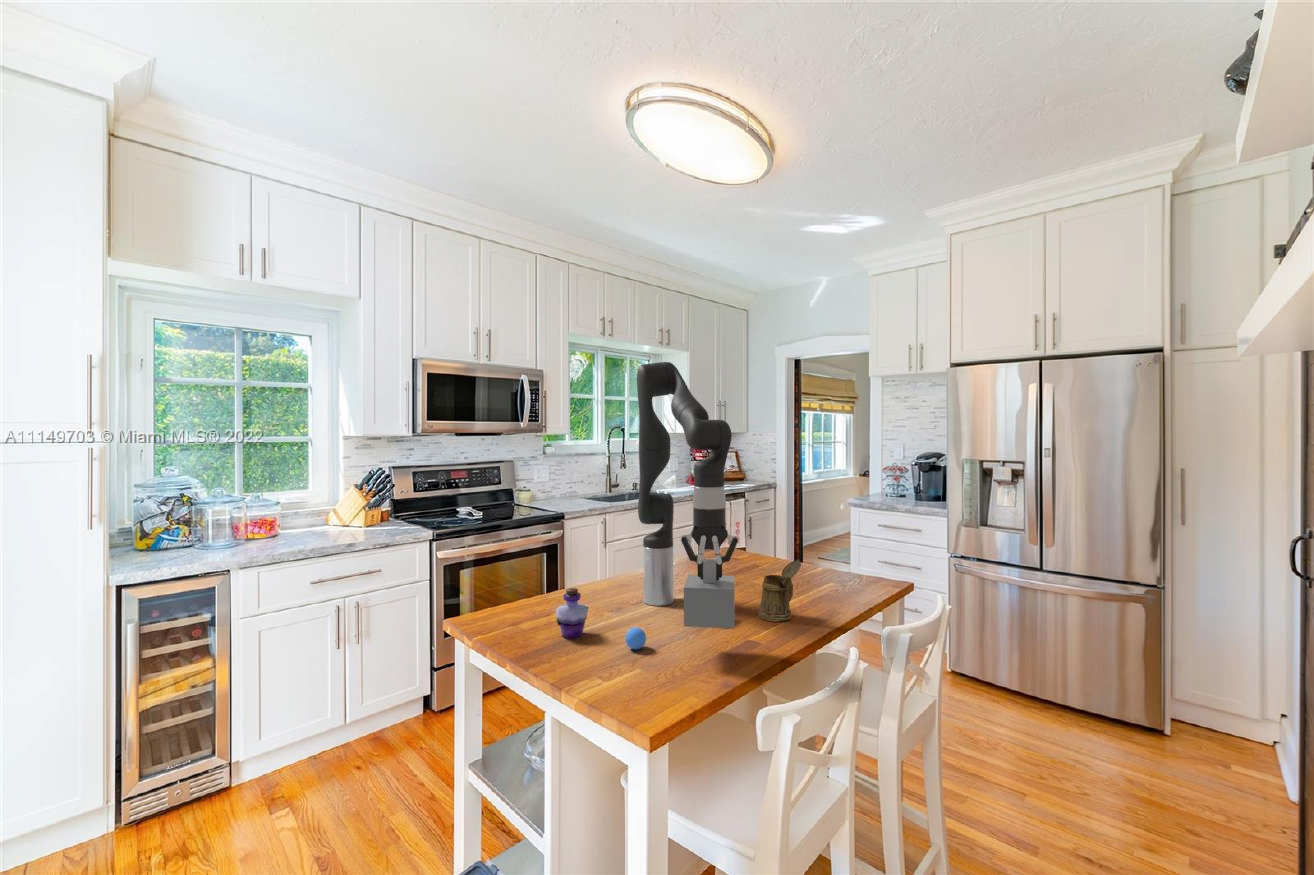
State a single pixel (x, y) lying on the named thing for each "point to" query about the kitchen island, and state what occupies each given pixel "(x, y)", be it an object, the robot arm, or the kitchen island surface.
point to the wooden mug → (778, 594)
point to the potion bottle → (572, 615)
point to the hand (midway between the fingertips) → (709, 578)
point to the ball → (635, 638)
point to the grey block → (709, 599)
